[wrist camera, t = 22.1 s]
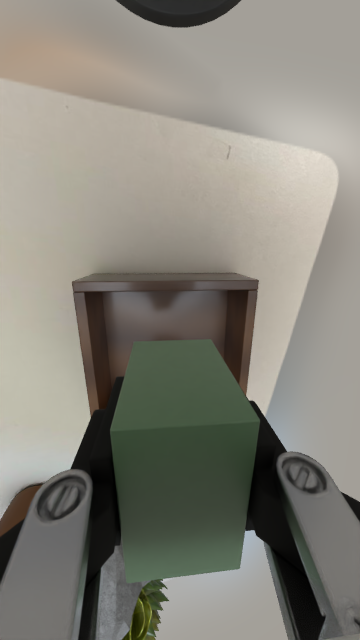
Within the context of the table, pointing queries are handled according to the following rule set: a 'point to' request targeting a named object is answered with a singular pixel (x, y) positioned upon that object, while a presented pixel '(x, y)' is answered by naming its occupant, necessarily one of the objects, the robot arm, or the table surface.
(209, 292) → the holder
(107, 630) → the potted plant
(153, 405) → the packet green
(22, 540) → the robot arm
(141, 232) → the table surface
